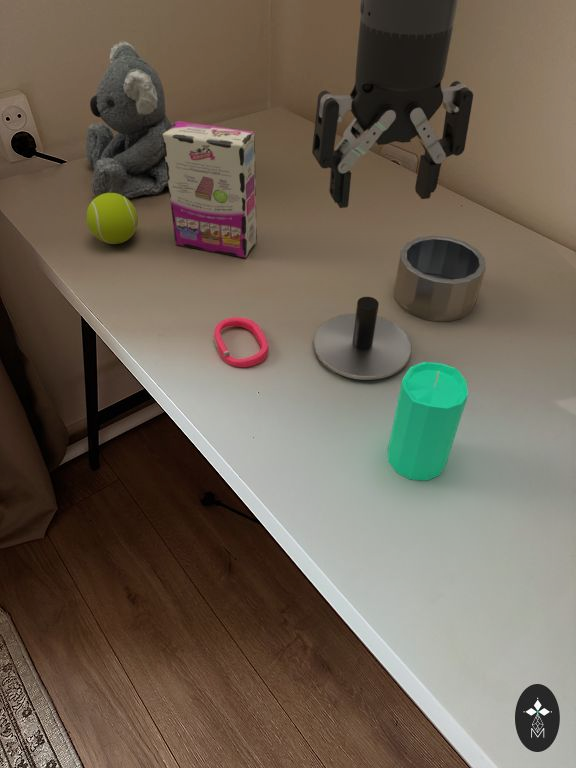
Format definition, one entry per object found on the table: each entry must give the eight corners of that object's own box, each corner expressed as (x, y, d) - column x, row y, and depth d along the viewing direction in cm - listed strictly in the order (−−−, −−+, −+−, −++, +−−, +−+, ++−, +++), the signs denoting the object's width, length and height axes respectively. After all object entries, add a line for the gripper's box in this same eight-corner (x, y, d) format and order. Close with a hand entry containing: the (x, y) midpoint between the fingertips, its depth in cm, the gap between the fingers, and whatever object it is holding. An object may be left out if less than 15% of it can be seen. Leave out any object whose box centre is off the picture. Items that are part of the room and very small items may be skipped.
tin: (453, 269, 89) (462, 231, 85) (488, 315, 82) (500, 276, 78) (382, 278, 87) (388, 240, 83) (412, 326, 80) (420, 287, 76)
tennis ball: (98, 257, 89) (88, 212, 84) (86, 233, 94) (77, 189, 89) (146, 246, 91) (139, 202, 87) (133, 223, 96) (126, 180, 91)
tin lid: (389, 314, 82) (397, 267, 77) (425, 374, 74) (436, 327, 69) (302, 327, 79) (304, 280, 74) (329, 391, 71) (334, 343, 66)
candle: (414, 426, 68) (434, 340, 60) (458, 460, 65) (486, 375, 56) (374, 453, 65) (390, 368, 57) (419, 491, 62) (443, 406, 53)
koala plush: (86, 160, 111) (60, 36, 97) (188, 148, 115) (177, 29, 101) (95, 208, 99) (68, 76, 85) (209, 193, 103) (200, 65, 89)
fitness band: (207, 330, 78) (207, 321, 77) (252, 320, 80) (252, 310, 79) (228, 373, 73) (227, 363, 72) (275, 361, 75) (275, 351, 74)
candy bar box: (258, 241, 93) (257, 130, 82) (246, 259, 90) (243, 146, 78) (187, 228, 95) (176, 118, 84) (173, 245, 92) (160, 133, 80)
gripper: (337, 35, 47) (324, 227, 59) (509, 25, 50) (464, 210, 62) (309, 7, 53) (302, 189, 64) (467, -1, 55) (433, 175, 67)
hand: (382, 199), depth 63 cm, fingers open, 8 cm apart
